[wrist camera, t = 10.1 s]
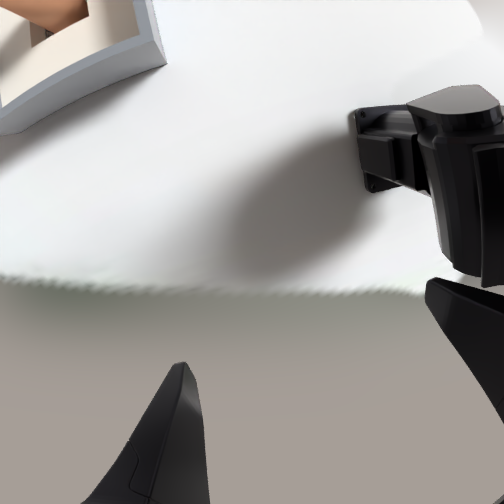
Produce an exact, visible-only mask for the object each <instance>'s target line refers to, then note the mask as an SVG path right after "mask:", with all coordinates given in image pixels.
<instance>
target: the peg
mask: <svg viewBox="0 0 504 504" xmlns="http://www.w3.org/2000/svg"><path fill="white" fill-rule="evenodd" d="M0 7H2V8H4V9H6V10H8V11H11V12H13V13H15V14H17V15H19V16H21V17H23V18H25V19H27V20H29V21H31V22H33V23H35V24H37V25H39V26H41V27H42V28H44V29H46V30H48V31H50V32H52V33H54V34H56V33H58V32H59V31H61V30H63V29H65V28H67V27H69V26H70V25H72V24H74V23H76V22H78V21H80V20H82V19H84V18H86V17H89V11H88V4H87V2H86V0H0Z"/></svg>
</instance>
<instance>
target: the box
mask: <svg viewBox="0 0 504 504" xmlns="http://www.w3.org/2000/svg"><path fill="white" fill-rule="evenodd" d="M87 4H88V11H89V17H86V18H84V19H82V20H80V21H78V22H76V23H74V24H72V25H70V26H69V27H67V28H65V29H63V30H61V31H59V32H58V33H56V34H54V35H52V36H51V37H49V38H47V39H46V34H45V29H44V28H42V27H41V26H39V25H37V24H35V23H33V22H31V21H29V20H27V19H25V18H23V17H21V16H19V15H17V14H15V13H13V12H11V11H8V10H6V9H4V8H2V7H0V136H2V135H9V134H16V133H21V132H22V131H24V130H25V129H27V128H28V127H30V126H32V125H33V124H35V123H36V122H38V121H40V120H41V119H43V118H45V117H47V116H48V115H50V114H52V113H54V112H55V111H57V110H59V109H61V108H63V107H65V106H66V105H68V104H70V103H72V102H74V101H76V100H78V99H80V98H82V97H84V96H86V95H88V94H91V93H93V92H95V91H97V90H99V89H102V88H104V87H106V86H108V85H111V84H113V83H116V82H118V81H120V80H123V79H125V78H128V77H131V76H133V75H136V74H139V73H141V72H144V71H147V70H150V69H153V68H156V67H159V66H162V65H165V64H167V61H166V57H165V53H164V49H163V45H162V41H161V37H160V33H159V29H158V24H157V20H156V16H155V11H154V7H153V3H152V0H87Z"/></svg>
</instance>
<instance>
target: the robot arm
mask: <svg viewBox="0 0 504 504" xmlns="http://www.w3.org/2000/svg"><path fill="white" fill-rule="evenodd" d="M361 112H362V113H363V117H361V116H360V113H361ZM355 119H356V125H357V131H358V137H357V141H358V147H359V154H360V161H361V168H362V170H363V171H364V179H365V187H366V190H367V191H369V192H371V193H375V192H379V191H383V190H387V189H391V188H396V187H400V186H404V187H407V188H409V189H412V190H414V191H417V192H419V193H422V194H424V195H427V196H429V197H431V198H432V202H433V207H434V213H435V219H436V225H437V232H438V239H439V244H440V247H441V250H442V253H443V254H444V255H445V256H446V257H447V258H448V259H449V260H450V262H452V264H453V268H454V269H456V270H458V271H460V272H462V273H464V274H467V275H471V276H475V277H481V287H483V288H487V287H492V286H497V285H504V106H500V103H499V101H498V100H497V99H496V98H495V97H494V96H492V95H491V94H490V93H489V92H488V91H486V90H485V89H484V88H482V87H481V86H480V85H461V86H451V87H448V88H445V89H442V90H440V91H437V92H434V93H432V94H429V95H426V96H423V97H421V98H418V99H416V100H413V101H411V102H408V103H406V105H405V104H404V105H389V106H376V107H366V108H358V109H357V110H356V111H355ZM371 184H373V188H371ZM425 303H426V305H427V306H428V308H429V310H430V311H431V313H432V314H433V316H434V317H435V319H436V321H437V323H438V324H439V326H440V327H441V329H442V331H443V332H444V334H445V335H446V336H447V338H448V339H449V341H450V342H451V343H452V345H453V346H454V347H455V349H456V350H457V351H458V353H459V354H460V356H461V357H462V359H463V360H464V362H465V363H466V364H467V366H468V367H469V368H470V370H471V372H472V373H473V375H474V376H475V378H476V379H477V381H478V382H479V384H480V385H481V387H482V388H483V390H484V391H485V393H486V395H487V396H488V398H489V399H490V401H491V403H492V404H493V406H494V408H495V409H496V411H497V413H498V414H499V416H500V418H501V420H502V422H503V423H504V296H503V295H500V294H496V293H493V292H489V291H485V290H482V289H478V288H475V287H471V286H467V285H464V284H460V283H456V282H453V281H449V280H445V279H441V278H438V277H435V278H432V279H430V280H428V281H427V283H426V291H425ZM205 454H206V453H205V440H204V425H203V417H202V411H201V406H200V400H199V394H198V388H197V383H196V379H195V377H194V375H193V373H192V372H191V370H190V368H189V366H188V364H187V363H186V362H180V363H176V364H174V365H173V366H172V367H171V369H170V371H169V372H168V374H167V376H166V378H165V379H164V381H163V383H162V384H161V386H160V388H159V389H158V391H157V393H156V394H155V396H154V398H153V400H152V401H151V403H150V405H149V406H148V408H147V409H146V411H145V413H144V414H143V416H142V418H141V420H140V421H139V423H138V425H137V426H136V428H135V430H134V431H133V433H132V435H131V437H130V438H129V441H127V443H126V445H125V447H124V448H123V450H122V451H121V453H120V455H119V456H118V458H117V460H116V461H115V462H114V464H113V465H112V467H111V468H110V469H109V471H108V472H107V474H106V475H105V476H104V478H103V479H102V480H101V482H100V483H99V484H98V486H97V487H96V488H95V489H94V491H93V492H92V494H91V495H90V496H89V497H88V498H87V499H86V500H85V501H84V502H82V503H81V504H210V498H209V490H208V477H207V466H206V455H205ZM493 504H504V495H503V496H501V497H500V498H499V499H498V500H497V501H496V502H495V503H493Z"/></svg>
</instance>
